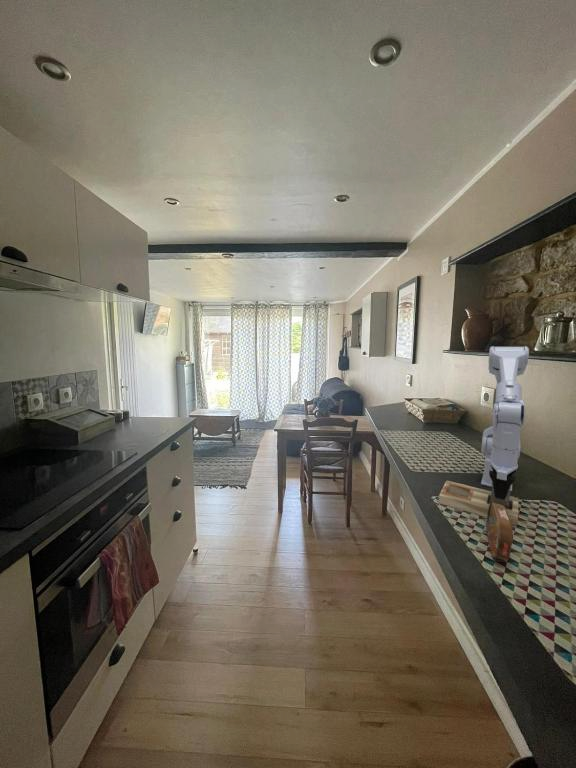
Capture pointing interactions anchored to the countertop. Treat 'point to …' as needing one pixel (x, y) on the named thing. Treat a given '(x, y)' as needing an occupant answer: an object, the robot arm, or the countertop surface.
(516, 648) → the countertop surface
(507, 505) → the grey rectangular block
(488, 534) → the tin
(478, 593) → the countertop surface
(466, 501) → the rail plate
